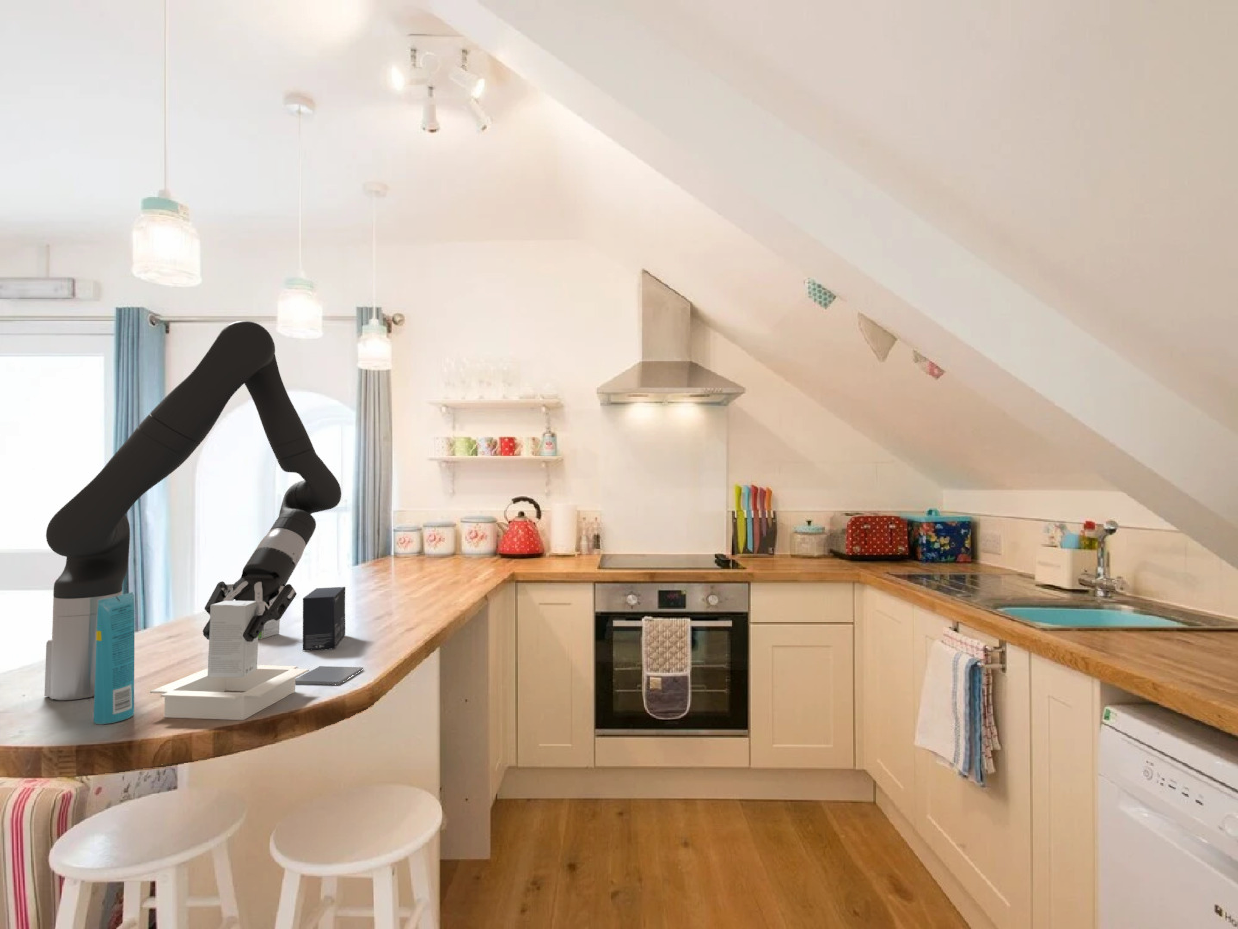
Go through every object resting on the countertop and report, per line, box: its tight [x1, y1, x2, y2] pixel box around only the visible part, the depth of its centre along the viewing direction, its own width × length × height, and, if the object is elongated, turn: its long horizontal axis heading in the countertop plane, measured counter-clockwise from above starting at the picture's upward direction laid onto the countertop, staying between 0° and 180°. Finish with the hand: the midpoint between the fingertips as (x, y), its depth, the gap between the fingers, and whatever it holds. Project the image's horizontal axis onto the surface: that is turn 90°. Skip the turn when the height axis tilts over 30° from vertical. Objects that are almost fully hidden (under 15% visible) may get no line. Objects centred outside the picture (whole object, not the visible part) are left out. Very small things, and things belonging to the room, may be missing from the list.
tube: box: [93, 591, 135, 725], centre depth 95 cm, size 7×5×19 cm, turn 11°
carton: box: [149, 664, 310, 721], centre depth 102 cm, size 18×16×4 cm
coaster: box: [295, 665, 364, 686], centre depth 116 cm, size 9×9×1 cm
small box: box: [302, 586, 346, 651], centre depth 141 cm, size 13×7×12 cm, turn 15°
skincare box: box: [207, 600, 259, 677], centre depth 102 cm, size 6×4×12 cm
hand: (227, 638), depth 101 cm, fingers closed on skincare box, 6 cm apart
